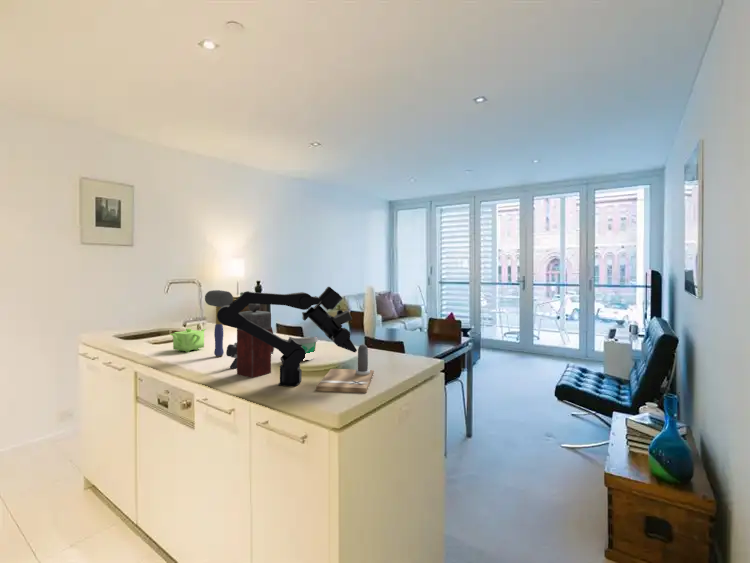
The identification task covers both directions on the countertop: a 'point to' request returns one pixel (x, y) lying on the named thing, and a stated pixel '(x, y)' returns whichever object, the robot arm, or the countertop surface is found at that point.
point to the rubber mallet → (218, 300)
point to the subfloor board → (345, 381)
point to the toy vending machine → (254, 345)
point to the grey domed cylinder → (362, 361)
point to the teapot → (188, 340)
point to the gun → (234, 354)
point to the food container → (307, 343)
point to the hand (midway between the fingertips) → (352, 348)
